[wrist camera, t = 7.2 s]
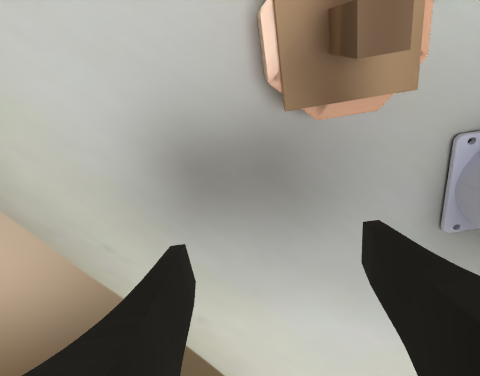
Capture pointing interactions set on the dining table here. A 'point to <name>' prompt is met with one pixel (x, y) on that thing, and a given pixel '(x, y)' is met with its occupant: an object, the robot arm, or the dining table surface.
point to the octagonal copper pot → (330, 110)
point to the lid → (347, 49)
